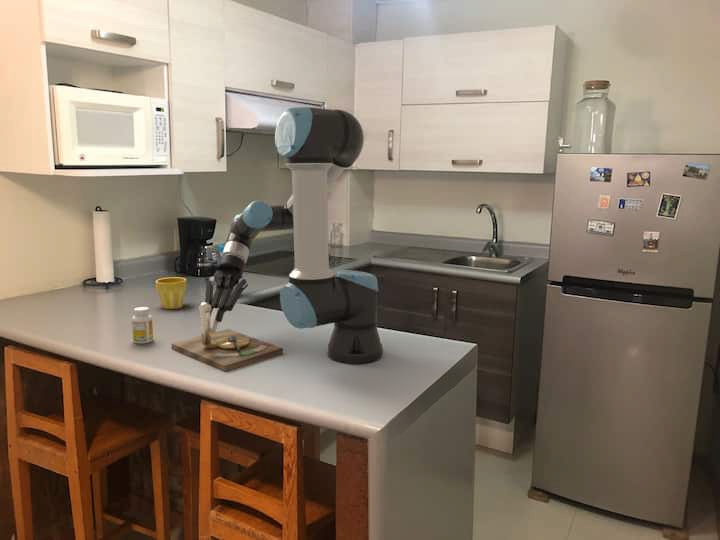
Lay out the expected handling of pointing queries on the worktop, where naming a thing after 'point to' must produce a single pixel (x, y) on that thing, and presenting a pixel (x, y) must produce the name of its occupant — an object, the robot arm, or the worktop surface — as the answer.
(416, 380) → the worktop surface
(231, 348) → the dial
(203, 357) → the gauge board
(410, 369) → the worktop surface
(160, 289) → the plant pot
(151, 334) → the supplement bottle
